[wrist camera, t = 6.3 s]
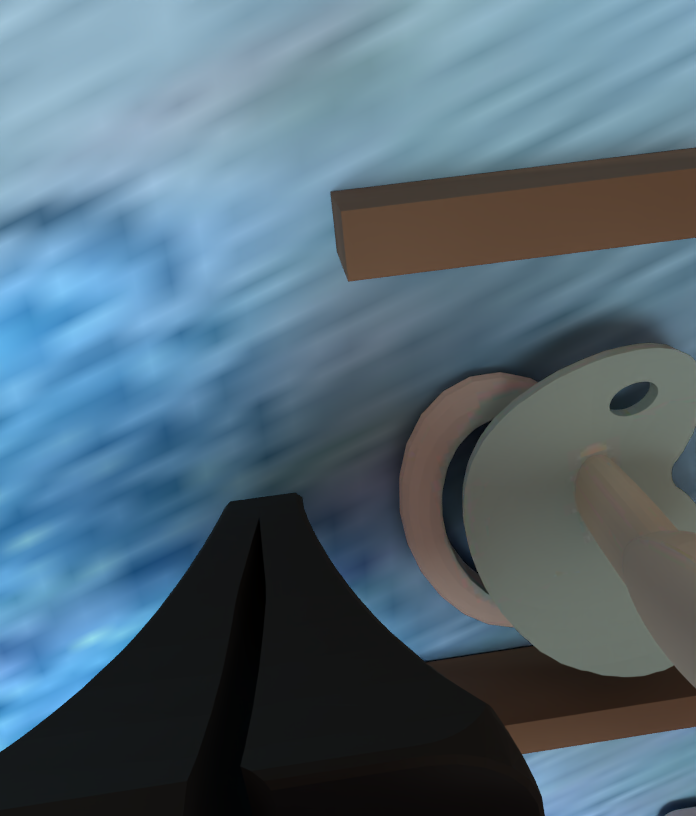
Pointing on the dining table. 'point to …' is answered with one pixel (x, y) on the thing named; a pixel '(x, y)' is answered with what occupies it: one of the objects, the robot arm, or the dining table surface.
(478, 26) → the dining table surface
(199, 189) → the dining table surface
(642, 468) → the pacifier
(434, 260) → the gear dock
